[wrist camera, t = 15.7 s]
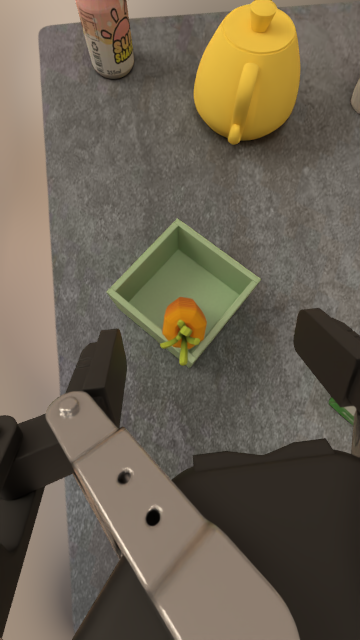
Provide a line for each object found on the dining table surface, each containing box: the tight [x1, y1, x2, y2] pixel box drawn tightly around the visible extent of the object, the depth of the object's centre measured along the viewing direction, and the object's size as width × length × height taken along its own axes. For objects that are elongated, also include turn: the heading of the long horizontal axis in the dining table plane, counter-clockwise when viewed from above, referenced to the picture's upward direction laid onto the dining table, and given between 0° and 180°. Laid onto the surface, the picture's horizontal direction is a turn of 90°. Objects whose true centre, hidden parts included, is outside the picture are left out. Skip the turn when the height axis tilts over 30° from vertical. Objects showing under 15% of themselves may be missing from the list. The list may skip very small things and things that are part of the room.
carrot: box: [160, 297, 207, 366], centre depth 30 cm, size 5×5×15 cm
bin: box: [107, 219, 261, 368], centre depth 35 cm, size 14×14×7 cm
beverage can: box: [76, 0, 134, 79], centre depth 45 cm, size 9×8×12 cm
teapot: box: [194, 0, 300, 145], centre depth 42 cm, size 25×18×14 cm
